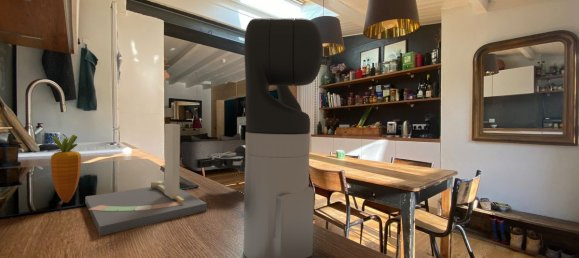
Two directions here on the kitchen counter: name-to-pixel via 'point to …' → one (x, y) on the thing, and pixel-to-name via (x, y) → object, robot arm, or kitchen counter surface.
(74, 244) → the kitchen counter surface
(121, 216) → the gauge dial plate
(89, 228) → the kitchen counter surface
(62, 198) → the carrot
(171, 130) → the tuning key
